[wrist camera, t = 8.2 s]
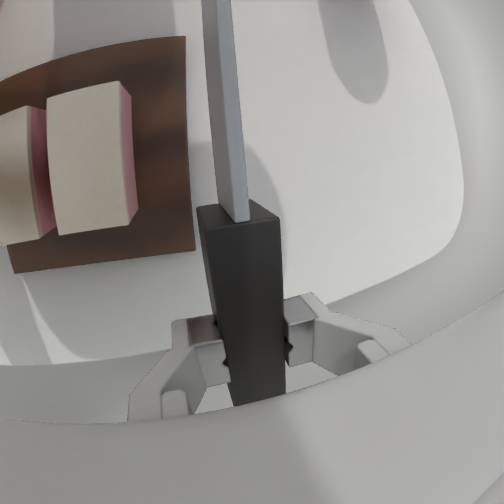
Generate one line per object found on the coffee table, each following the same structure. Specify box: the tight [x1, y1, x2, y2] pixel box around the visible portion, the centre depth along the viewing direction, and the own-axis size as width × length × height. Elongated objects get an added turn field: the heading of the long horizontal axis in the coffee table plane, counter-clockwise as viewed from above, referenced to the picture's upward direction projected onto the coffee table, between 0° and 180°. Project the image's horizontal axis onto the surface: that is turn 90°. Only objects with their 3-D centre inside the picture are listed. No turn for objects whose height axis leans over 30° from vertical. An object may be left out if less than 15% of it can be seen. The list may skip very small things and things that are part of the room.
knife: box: [196, 0, 286, 407], centre depth 8 cm, size 17×2×3 cm, turn 5°
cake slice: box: [47, 81, 139, 235], centre depth 16 cm, size 9×5×5 cm, turn 2°
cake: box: [0, 36, 196, 274], centre depth 16 cm, size 18×18×6 cm
